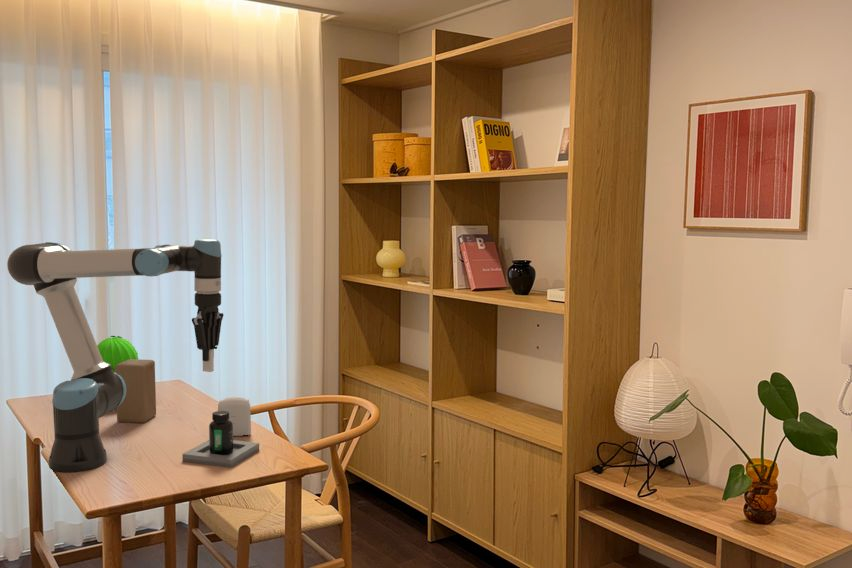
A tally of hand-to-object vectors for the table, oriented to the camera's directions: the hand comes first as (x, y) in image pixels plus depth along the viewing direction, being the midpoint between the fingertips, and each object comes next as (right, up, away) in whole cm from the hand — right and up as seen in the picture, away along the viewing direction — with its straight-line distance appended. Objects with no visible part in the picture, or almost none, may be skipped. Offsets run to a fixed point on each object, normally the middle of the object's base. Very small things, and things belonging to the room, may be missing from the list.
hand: (208, 371), depth 230 cm
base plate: (+4, -25, 0) cm, 25 cm away
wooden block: (-35, -21, +37) cm, 55 cm away
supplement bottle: (+4, -24, 0) cm, 25 cm away
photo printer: (+3, -23, +20) cm, 31 cm away
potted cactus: (-51, -18, +59) cm, 80 cm away
